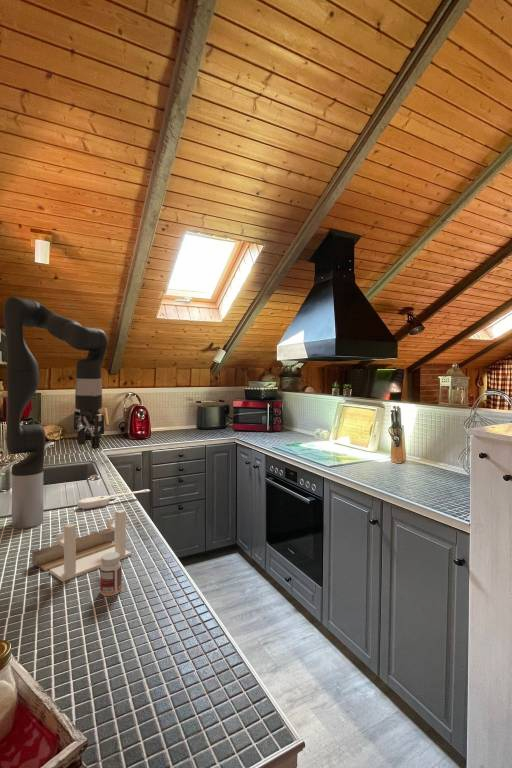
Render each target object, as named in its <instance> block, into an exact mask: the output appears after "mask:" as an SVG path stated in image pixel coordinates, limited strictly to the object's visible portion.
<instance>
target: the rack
mask: <svg viewBox="0 0 512 768" xmlns="http://www.w3.org/2000/svg"><path fill="white" fill-rule="evenodd" d="M114 514H115V515H114V518H113V517H110V518H106V529H111V530H113V531H115V541H114V543H115V546H113V547H110V548H108V549H105V550H102V551H99V552H96V553H93V554H91V555H88V556H85V557H82V558H79V559H76V538H77V526H76V525H77V524H74V523H68V524H65V525H64V526H63V528H64V529H63V531H62V532H57V533H56V545H57V544H59V545H61V546H62V547H64V564H62V565H59V566H57V567H54V568H51V569H49V573H50V574H51V575H52V576H54V577H55V578H57V579H58V580H59V581H61V582H62V583H63V582H66V581H69V580H71V579H75V578H76V577H79V576H81V575H84V574H87V573H89V572H92V571H94V570H97V569H100V566H101V564H102V556H103V555H104V554H106V553H110V552H117V553H119V554H120V561H121V560H123V559H126V558H128V557H131V556H132V552H131V551H129V550H127V549H126V546H127V545H126V543H127V542H126V541H127V540H126V532H127V530H126V528H127V526H126V525H127V519H126V514H127V512H126V510H124V509H122V508H121V509H118V510H115V513H114ZM114 520H115V521H114Z"/></svg>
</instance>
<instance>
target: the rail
mask: <svg viewBox="0 0 512 768" xmlns="http://www.w3.org/2000/svg"><path fill="white" fill-rule="evenodd" d="M109 542H115V531H113V530H111V529H109V528H106V529H103V530H99V531H96V532H92V533H89V534H86V535H83V536H80V537H76V554H77V553H80V552H83V551H86V550H89V549H92V548H95V547H97V546H100V545H103V544H106V543H109ZM62 558H64V547H62V546H61V545H59V544H57V543H56V544H54V545H51V546H48V547H44V548H41V549H37V550H35V551H32V552H31V564H32V565H33V566H35V567H36V568H40V567H39V566H42V565H44V564H47V563H50V562H53V561H56V560H59V559H62Z"/></svg>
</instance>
